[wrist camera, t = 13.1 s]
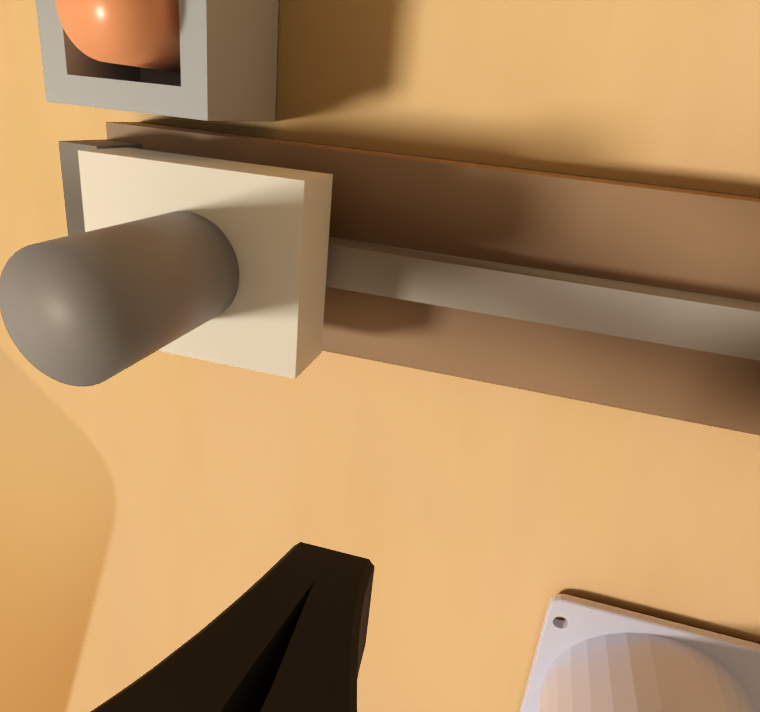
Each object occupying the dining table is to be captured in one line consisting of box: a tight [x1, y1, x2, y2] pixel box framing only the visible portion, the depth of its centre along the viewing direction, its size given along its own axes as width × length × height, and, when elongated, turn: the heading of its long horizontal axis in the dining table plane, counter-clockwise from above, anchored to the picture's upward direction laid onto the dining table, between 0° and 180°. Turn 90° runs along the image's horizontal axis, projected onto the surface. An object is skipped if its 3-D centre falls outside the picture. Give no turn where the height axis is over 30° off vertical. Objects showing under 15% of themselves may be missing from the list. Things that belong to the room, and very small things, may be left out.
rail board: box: [59, 122, 760, 435], centre depth 17 cm, size 6×22×4 cm, turn 84°
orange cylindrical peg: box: [55, 0, 181, 73], centre depth 15 cm, size 2×2×4 cm
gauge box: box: [36, 0, 279, 122], centre depth 16 cm, size 5×5×4 cm
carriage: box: [0, 147, 333, 386], centre depth 14 cm, size 5×6×6 cm
